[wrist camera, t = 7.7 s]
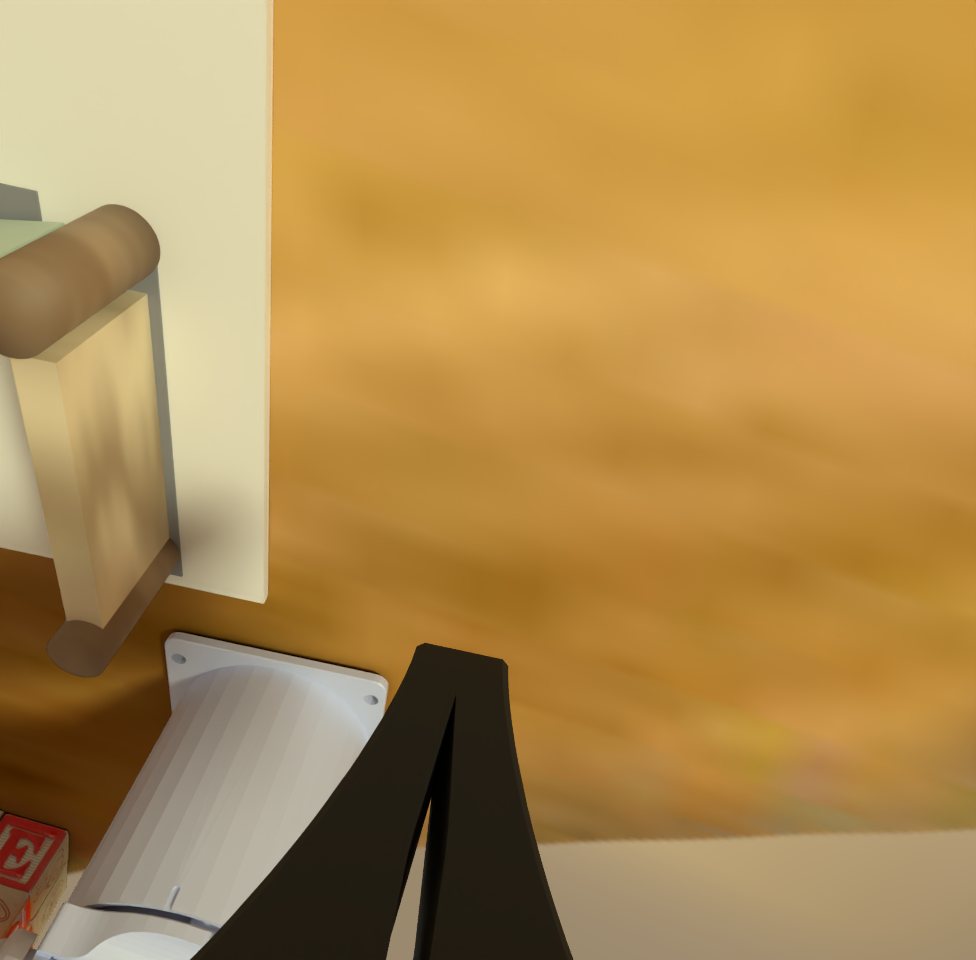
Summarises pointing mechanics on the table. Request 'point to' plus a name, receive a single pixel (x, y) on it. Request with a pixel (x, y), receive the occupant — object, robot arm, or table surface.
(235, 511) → the card
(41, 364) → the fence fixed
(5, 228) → the pale green bar
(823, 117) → the table surface
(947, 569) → the table surface
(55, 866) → the stack of blocks
